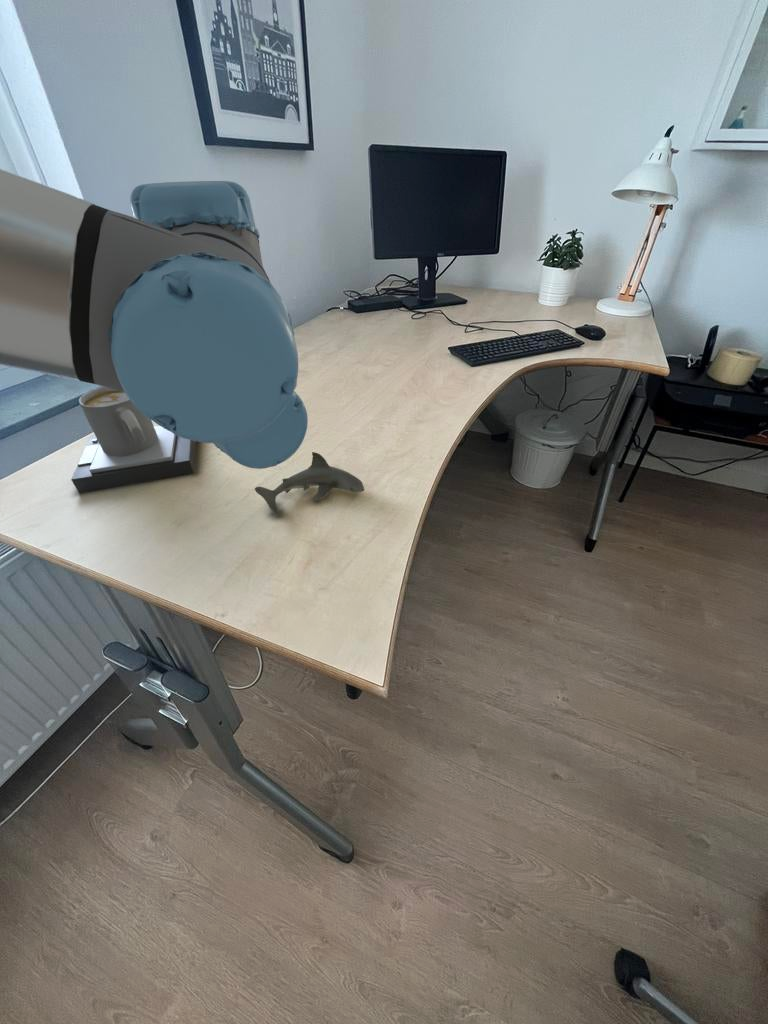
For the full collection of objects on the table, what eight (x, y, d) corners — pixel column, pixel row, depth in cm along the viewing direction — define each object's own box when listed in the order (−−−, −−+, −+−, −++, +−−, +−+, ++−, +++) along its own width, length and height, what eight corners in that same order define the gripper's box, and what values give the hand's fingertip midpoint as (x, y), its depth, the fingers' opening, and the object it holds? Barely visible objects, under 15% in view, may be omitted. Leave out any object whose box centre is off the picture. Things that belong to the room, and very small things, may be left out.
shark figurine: (358, 523, 71) (355, 486, 66) (261, 515, 73) (251, 479, 68) (372, 473, 82) (370, 439, 77) (287, 468, 84) (280, 434, 79)
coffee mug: (99, 439, 86) (75, 392, 80) (151, 425, 90) (133, 379, 84) (110, 470, 78) (84, 420, 71) (167, 453, 82) (148, 404, 75)
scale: (78, 493, 79) (68, 475, 77) (96, 449, 91) (88, 433, 88) (193, 473, 83) (187, 456, 81) (196, 434, 95) (191, 418, 93)
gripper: (82, 448, 40) (50, 378, 53) (314, 378, 52) (241, 335, 65) (39, 368, 35) (16, 313, 48) (306, 311, 47) (229, 279, 60)
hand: (145, 325), depth 57 cm, fingers open, 13 cm apart
